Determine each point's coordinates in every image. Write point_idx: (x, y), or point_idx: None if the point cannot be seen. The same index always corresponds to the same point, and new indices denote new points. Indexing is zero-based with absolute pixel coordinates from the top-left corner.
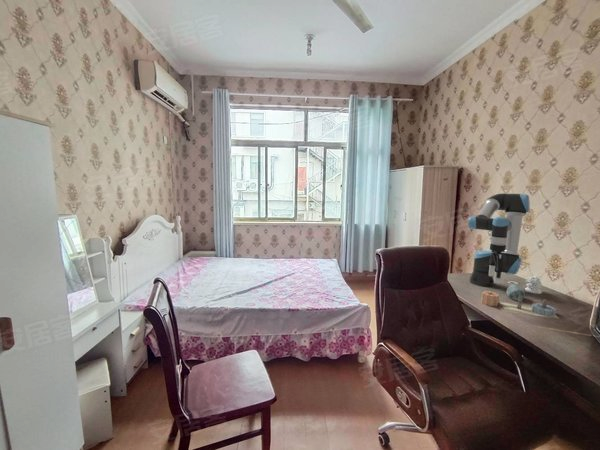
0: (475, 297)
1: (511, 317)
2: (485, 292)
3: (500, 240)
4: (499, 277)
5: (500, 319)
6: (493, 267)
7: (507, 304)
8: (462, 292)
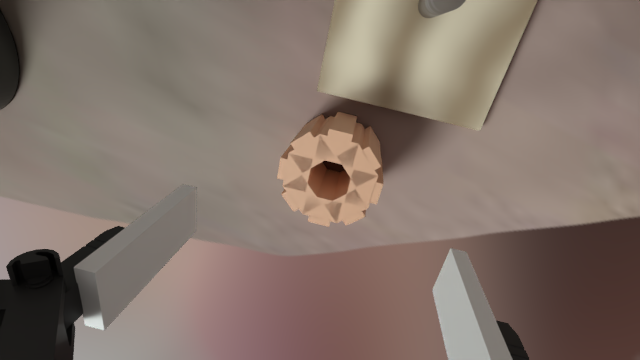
0: (258, 193)
1: (555, 127)
2: (311, 205)
3: None
4: (514, 341)
5: (579, 205)
6: (119, 273)
7: (358, 56)
8: (199, 229)
